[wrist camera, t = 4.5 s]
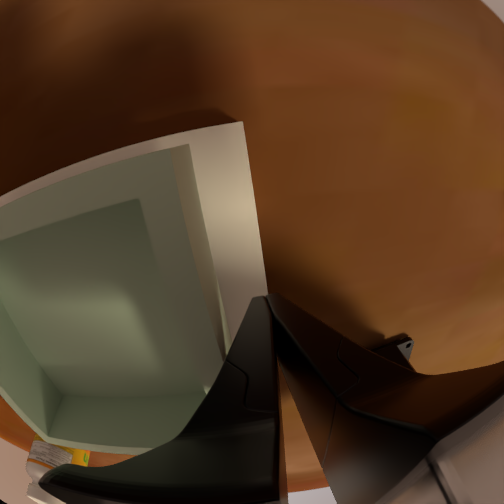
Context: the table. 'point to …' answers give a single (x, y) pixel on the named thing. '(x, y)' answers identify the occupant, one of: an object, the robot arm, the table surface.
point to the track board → (204, 206)
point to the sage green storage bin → (110, 305)
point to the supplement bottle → (49, 465)
